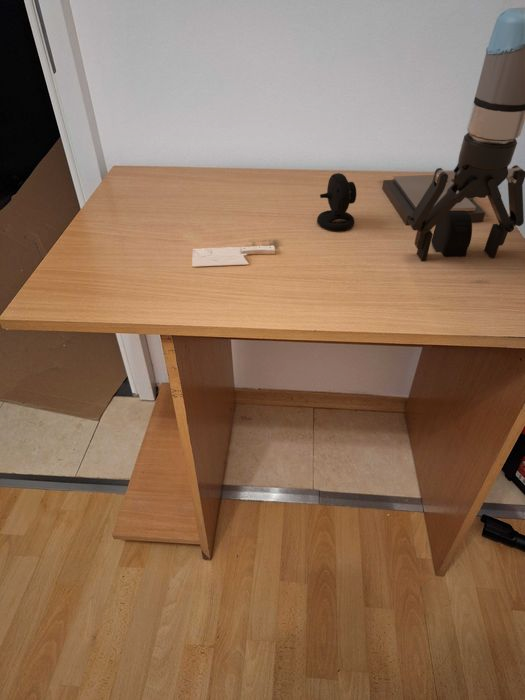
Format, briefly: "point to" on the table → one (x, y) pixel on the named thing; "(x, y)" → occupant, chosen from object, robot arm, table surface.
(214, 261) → the toy cleaver knife
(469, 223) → the tape measure
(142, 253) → the table surface
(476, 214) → the scale base
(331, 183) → the webcam
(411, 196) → the pan
